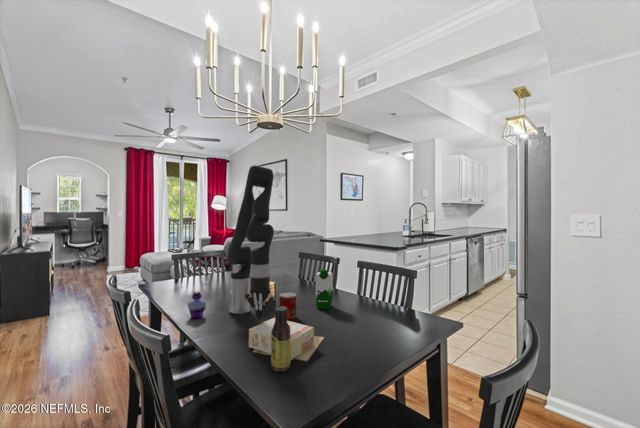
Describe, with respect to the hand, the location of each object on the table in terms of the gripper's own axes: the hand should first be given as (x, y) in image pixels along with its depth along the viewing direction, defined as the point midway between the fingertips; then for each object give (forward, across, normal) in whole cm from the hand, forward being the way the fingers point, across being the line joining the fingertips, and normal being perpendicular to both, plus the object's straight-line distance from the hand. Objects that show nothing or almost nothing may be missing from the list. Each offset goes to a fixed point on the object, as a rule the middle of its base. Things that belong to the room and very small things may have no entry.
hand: (260, 318), depth 121 cm
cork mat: (+8, +13, 0) cm, 16 cm away
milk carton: (+9, +12, +47) cm, 49 cm away
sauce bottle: (+9, +17, -17) cm, 26 cm away
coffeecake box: (+5, +1, -1) cm, 5 cm away
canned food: (+9, 0, +27) cm, 28 cm away
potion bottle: (+9, -41, +13) cm, 44 cm away
